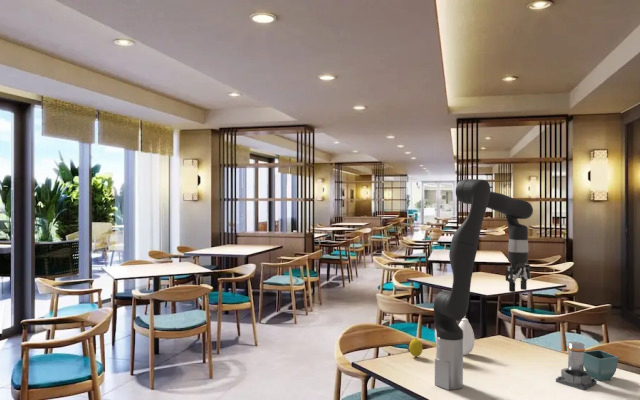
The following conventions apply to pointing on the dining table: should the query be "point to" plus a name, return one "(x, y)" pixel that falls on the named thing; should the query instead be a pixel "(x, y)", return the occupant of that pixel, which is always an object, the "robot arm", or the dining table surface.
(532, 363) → the dining table surface
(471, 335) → the sauce bottle
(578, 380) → the duct flange
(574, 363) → the grey travel mug
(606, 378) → the flower pot
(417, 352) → the lemon
